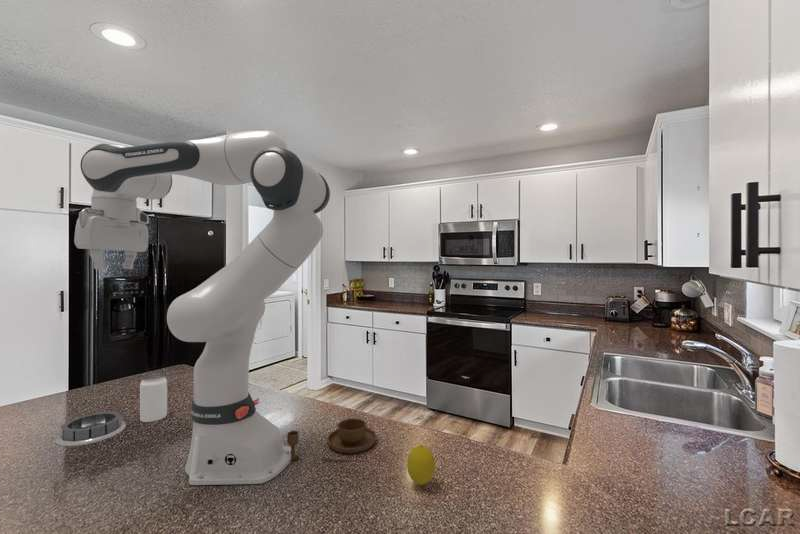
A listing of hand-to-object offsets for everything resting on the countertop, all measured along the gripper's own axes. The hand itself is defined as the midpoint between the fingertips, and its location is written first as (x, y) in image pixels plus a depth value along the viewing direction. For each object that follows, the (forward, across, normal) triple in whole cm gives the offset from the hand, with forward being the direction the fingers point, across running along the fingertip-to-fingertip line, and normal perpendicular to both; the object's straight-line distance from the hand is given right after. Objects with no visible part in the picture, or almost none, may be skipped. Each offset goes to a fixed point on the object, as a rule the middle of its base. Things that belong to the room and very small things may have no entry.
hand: (114, 269), depth 91 cm
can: (+43, +15, 0) cm, 46 cm away
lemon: (+43, -21, -74) cm, 88 cm away
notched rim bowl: (+43, +6, +10) cm, 44 cm away
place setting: (+43, -3, -54) cm, 70 cm away
